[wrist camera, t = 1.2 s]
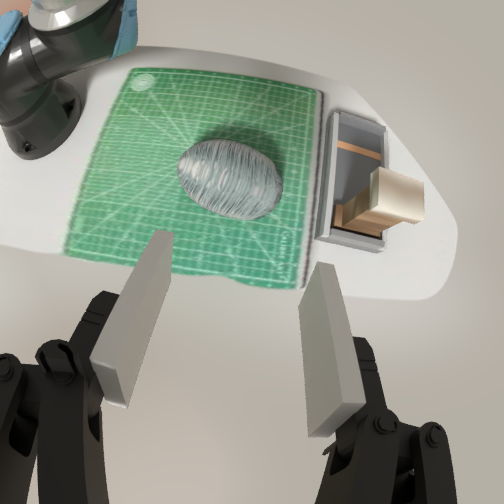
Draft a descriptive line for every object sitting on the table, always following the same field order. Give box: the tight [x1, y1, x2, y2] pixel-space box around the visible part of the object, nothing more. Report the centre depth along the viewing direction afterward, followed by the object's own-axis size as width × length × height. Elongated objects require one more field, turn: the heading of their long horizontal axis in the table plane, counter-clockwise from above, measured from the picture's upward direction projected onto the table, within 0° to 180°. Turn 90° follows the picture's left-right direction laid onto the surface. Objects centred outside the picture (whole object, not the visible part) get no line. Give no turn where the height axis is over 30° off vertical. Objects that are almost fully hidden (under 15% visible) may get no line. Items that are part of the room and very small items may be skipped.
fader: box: [332, 167, 424, 238], centre depth 34 cm, size 4×7×12 cm, turn 80°
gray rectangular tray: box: [314, 111, 389, 253], centre depth 42 cm, size 20×10×4 cm, turn 170°
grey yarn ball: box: [177, 139, 283, 220], centre depth 38 cm, size 14×10×10 cm
